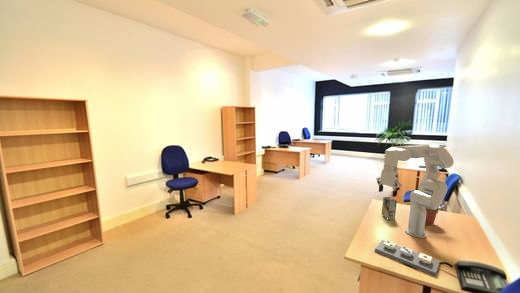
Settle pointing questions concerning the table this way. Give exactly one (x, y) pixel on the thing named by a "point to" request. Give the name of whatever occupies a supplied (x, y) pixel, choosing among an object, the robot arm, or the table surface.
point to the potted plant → (430, 213)
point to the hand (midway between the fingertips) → (387, 193)
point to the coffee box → (389, 207)
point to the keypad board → (408, 259)
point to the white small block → (406, 251)
